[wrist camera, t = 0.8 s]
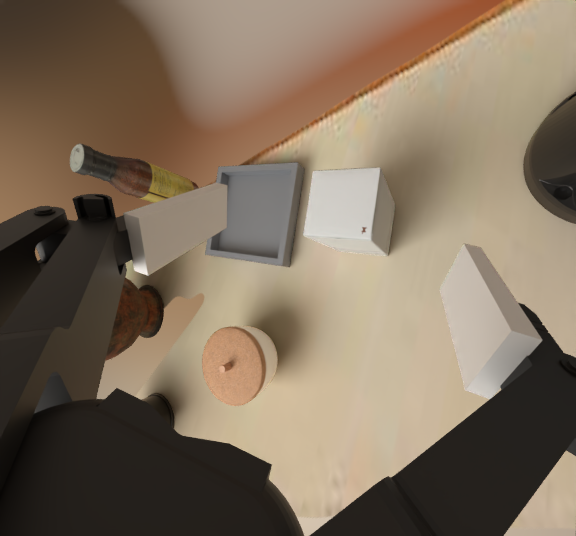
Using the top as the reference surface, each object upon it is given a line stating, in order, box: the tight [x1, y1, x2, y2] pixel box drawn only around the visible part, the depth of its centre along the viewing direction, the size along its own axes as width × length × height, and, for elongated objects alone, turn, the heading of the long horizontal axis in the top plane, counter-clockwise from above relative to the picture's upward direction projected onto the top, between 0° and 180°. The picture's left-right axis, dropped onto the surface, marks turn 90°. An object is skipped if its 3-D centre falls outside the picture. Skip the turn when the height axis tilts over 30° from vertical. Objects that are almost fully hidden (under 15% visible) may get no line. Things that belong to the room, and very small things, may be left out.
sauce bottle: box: [70, 144, 198, 203], centre depth 46 cm, size 7×6×20 cm
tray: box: [205, 162, 304, 267], centre depth 45 cm, size 16×16×2 cm
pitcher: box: [105, 278, 164, 361], centre depth 45 cm, size 17×21×30 cm
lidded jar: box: [202, 326, 278, 406], centre depth 40 cm, size 11×11×9 cm
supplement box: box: [303, 167, 395, 256], centre depth 32 cm, size 7×7×13 cm
